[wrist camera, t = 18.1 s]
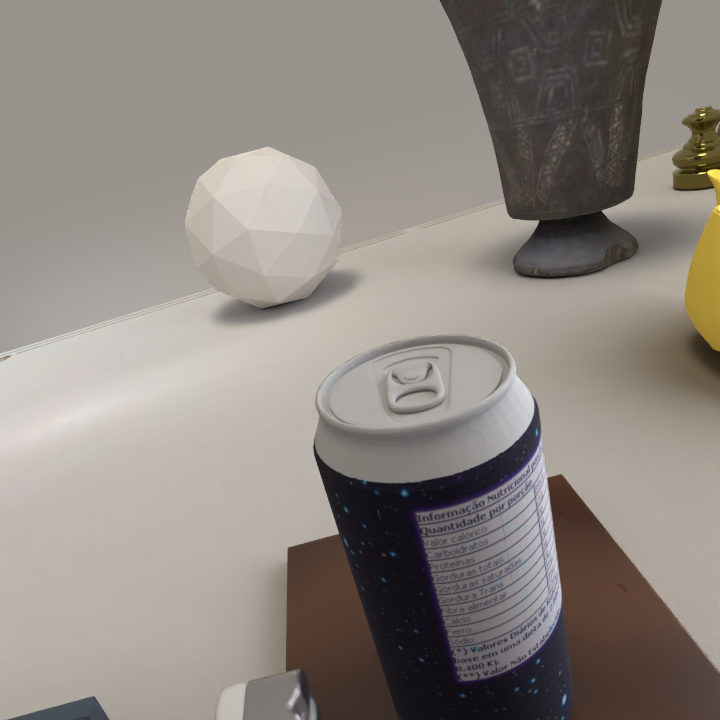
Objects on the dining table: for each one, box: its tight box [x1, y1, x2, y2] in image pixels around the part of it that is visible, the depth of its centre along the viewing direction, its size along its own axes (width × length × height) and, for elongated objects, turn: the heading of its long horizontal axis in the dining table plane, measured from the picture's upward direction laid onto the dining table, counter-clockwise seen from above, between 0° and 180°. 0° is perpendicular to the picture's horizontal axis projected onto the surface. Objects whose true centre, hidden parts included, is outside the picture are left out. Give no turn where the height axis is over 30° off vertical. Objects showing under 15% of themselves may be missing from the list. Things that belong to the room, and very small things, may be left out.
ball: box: [185, 147, 342, 309], centre depth 70 cm, size 19×20×20 cm
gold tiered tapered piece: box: [672, 106, 720, 190], centre depth 75 cm, size 7×8×10 cm
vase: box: [440, 0, 662, 277], centre depth 55 cm, size 22×22×30 cm
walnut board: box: [286, 474, 720, 720], centre depth 18 cm, size 20×14×1 cm
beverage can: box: [313, 334, 574, 720], centre depth 16 cm, size 6×6×12 cm
